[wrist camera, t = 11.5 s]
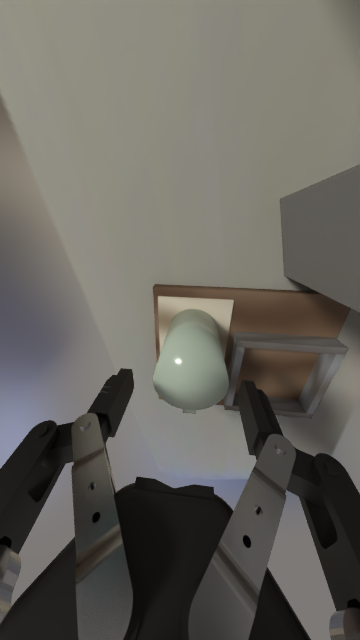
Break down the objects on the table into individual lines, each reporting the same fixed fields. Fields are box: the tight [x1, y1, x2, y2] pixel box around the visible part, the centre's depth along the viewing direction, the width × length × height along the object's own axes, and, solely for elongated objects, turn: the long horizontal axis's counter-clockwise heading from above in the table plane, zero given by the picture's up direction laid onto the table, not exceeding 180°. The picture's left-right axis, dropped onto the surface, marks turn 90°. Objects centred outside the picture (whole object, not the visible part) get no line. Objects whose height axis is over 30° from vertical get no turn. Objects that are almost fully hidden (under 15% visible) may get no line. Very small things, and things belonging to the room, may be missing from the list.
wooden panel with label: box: [153, 284, 351, 418], centre depth 21 cm, size 17×20×3 cm
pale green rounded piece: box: [153, 309, 229, 414], centre depth 17 cm, size 6×8×8 cm
